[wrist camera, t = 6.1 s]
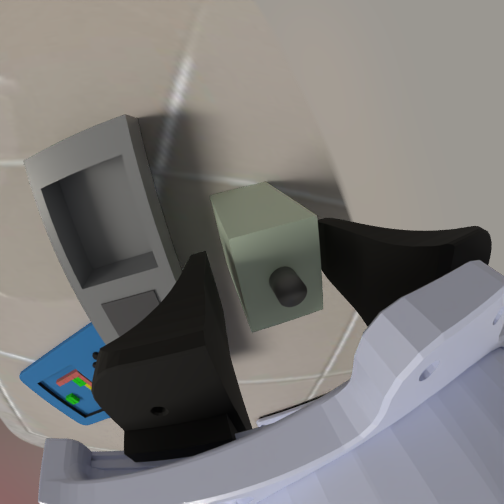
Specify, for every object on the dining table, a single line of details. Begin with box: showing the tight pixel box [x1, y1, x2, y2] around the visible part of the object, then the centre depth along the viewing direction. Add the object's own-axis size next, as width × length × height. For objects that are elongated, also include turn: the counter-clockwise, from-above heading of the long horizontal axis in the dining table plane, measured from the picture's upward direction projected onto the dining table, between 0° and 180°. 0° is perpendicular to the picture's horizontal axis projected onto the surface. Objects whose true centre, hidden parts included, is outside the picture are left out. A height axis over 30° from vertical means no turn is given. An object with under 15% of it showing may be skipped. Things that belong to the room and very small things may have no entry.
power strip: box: [24, 115, 182, 345], centre depth 14 cm, size 21×5×4 cm, turn 11°
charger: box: [210, 182, 323, 332], centre depth 12 cm, size 4×3×7 cm
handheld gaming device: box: [20, 322, 110, 425], centre depth 17 cm, size 8×1×15 cm
